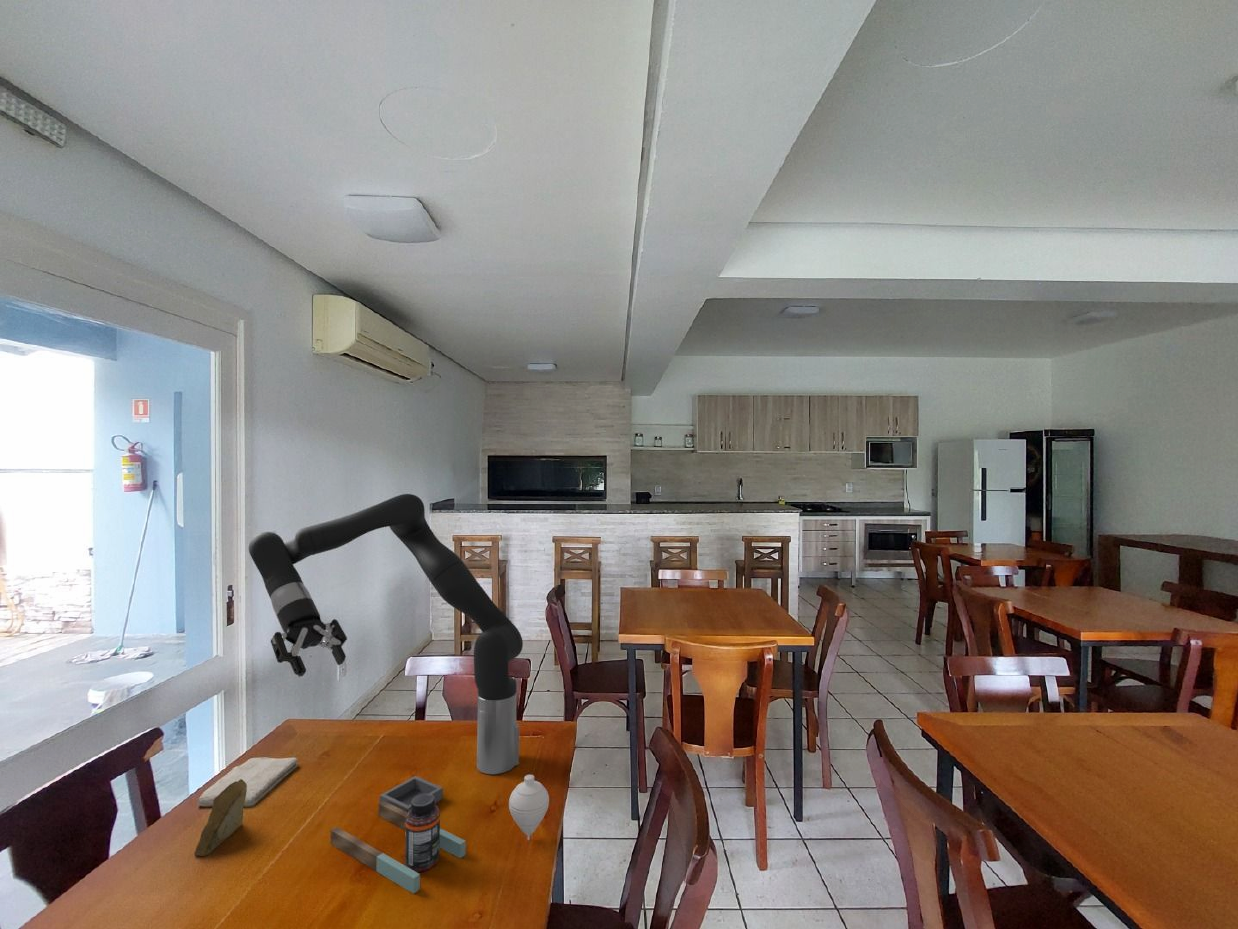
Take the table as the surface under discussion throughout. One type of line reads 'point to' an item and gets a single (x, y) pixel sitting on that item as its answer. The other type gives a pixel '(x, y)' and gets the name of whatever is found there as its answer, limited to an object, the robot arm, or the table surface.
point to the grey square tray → (411, 793)
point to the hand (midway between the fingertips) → (322, 668)
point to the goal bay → (407, 875)
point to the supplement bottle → (422, 833)
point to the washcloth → (252, 779)
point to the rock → (223, 817)
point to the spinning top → (528, 804)
